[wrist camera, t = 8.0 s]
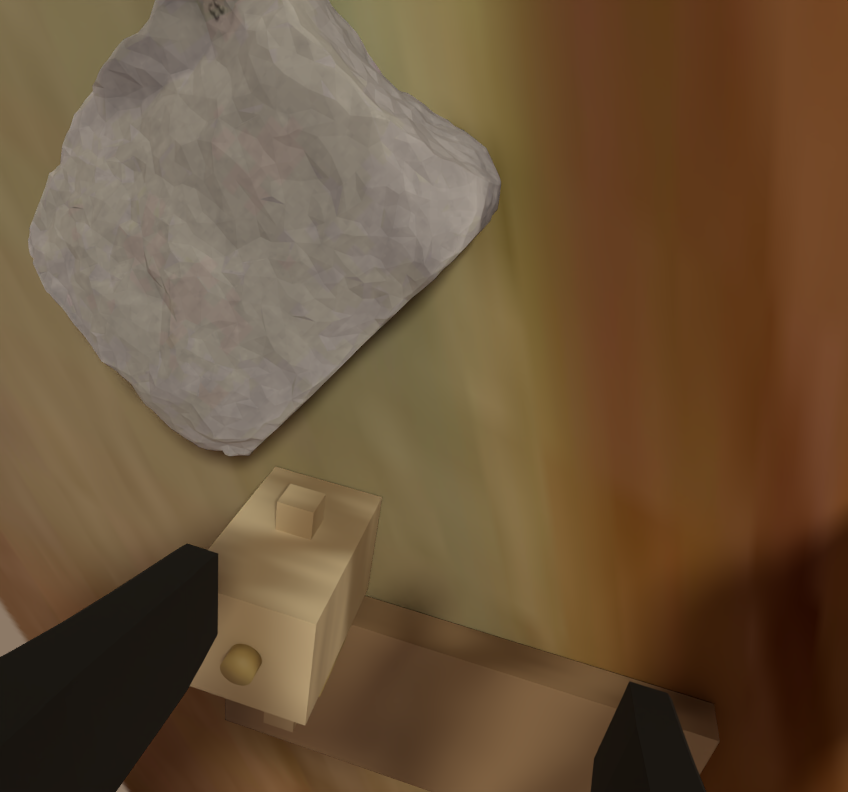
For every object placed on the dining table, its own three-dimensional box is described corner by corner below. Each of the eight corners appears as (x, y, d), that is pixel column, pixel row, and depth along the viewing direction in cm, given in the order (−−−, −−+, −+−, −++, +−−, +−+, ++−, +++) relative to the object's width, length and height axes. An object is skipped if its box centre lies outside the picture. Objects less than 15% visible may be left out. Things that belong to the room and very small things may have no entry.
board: (713, 704, 24) (719, 741, 23) (643, 828, 28) (645, 865, 27) (246, 558, 26) (227, 585, 25) (241, 691, 30) (225, 719, 29)
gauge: (386, 471, 23) (310, 611, 17) (353, 680, 28) (287, 840, 22) (276, 440, 23) (168, 566, 18) (264, 651, 29) (178, 800, 23)
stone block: (103, 231, 24) (286, 447, 24) (-27, 240, 19) (195, 504, 19) (302, -74, 18) (542, 201, 18) (183, -154, 14) (495, 204, 14)
